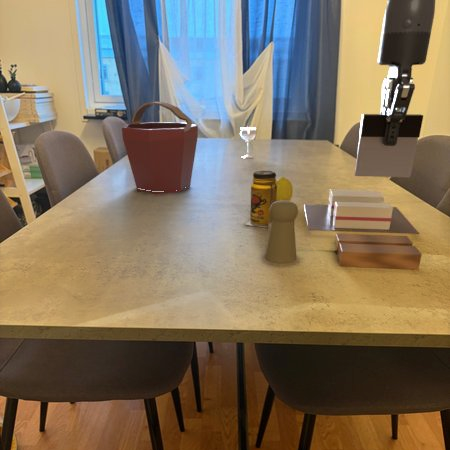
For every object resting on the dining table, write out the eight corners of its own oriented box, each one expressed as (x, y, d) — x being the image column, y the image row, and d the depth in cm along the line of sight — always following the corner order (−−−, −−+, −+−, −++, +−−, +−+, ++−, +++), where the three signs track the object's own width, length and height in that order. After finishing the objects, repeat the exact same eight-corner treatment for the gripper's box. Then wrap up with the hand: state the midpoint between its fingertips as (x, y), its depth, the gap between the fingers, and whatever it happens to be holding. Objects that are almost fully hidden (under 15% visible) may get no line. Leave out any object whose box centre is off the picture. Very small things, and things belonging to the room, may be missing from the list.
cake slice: (385, 224, 100) (389, 203, 98) (389, 229, 96) (393, 207, 94) (332, 222, 101) (334, 201, 99) (334, 227, 98) (336, 206, 95)
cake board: (395, 210, 114) (396, 207, 113) (419, 238, 94) (419, 233, 94) (303, 208, 116) (303, 204, 116) (307, 234, 97) (308, 229, 96)
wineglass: (243, 158, 187) (244, 129, 181) (237, 156, 192) (237, 127, 187) (257, 157, 189) (258, 128, 184) (251, 155, 195) (252, 127, 189)
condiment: (244, 225, 103) (244, 173, 97) (256, 215, 110) (258, 167, 104) (272, 229, 100) (275, 176, 95) (284, 219, 107) (287, 169, 101)
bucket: (210, 191, 133) (209, 102, 122) (143, 201, 123) (135, 105, 112) (176, 177, 152) (172, 99, 141) (115, 184, 142) (105, 101, 130)
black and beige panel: (408, 176, 80) (420, 114, 76) (411, 178, 79) (423, 115, 74) (353, 174, 82) (361, 114, 77) (355, 176, 80) (363, 114, 75)
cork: (274, 265, 81) (278, 207, 76) (259, 254, 86) (262, 199, 81) (302, 260, 83) (307, 203, 78) (286, 250, 88) (289, 196, 83)
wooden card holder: (404, 249, 88) (407, 235, 87) (418, 269, 79) (421, 254, 77) (334, 247, 89) (335, 233, 88) (340, 266, 80) (342, 251, 79)
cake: (375, 209, 111) (378, 190, 108) (381, 217, 105) (384, 197, 102) (327, 208, 112) (329, 189, 110) (330, 216, 106) (332, 195, 104)
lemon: (295, 207, 117) (297, 177, 113) (280, 210, 114) (281, 179, 111) (282, 202, 121) (284, 173, 117) (266, 205, 118) (268, 176, 115)
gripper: (444, 26, 63) (420, 150, 71) (418, 34, 75) (400, 139, 83) (391, 27, 64) (373, 149, 72) (374, 35, 76) (360, 139, 84)
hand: (387, 144), depth 78 cm, fingers closed on black and beige panel, 2 cm apart
